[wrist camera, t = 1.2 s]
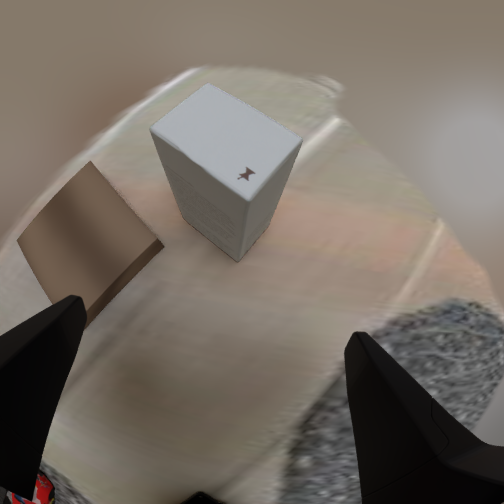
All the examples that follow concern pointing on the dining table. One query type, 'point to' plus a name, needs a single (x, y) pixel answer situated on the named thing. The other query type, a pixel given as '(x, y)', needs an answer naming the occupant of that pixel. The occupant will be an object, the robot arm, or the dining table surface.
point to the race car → (38, 492)
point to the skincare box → (225, 165)
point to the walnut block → (87, 242)
